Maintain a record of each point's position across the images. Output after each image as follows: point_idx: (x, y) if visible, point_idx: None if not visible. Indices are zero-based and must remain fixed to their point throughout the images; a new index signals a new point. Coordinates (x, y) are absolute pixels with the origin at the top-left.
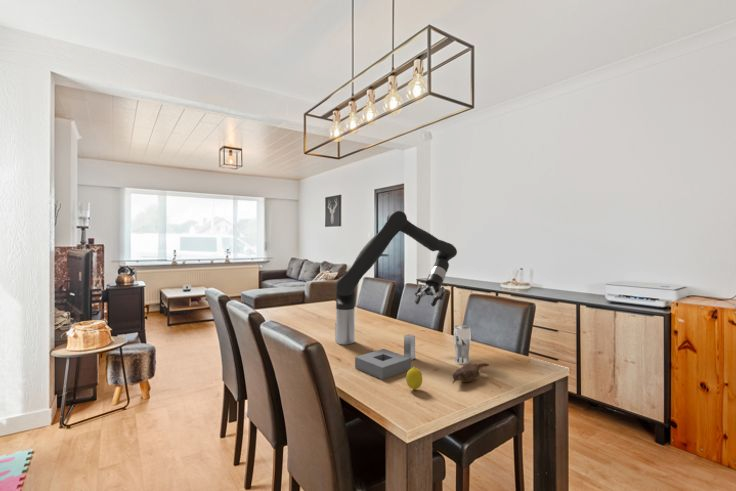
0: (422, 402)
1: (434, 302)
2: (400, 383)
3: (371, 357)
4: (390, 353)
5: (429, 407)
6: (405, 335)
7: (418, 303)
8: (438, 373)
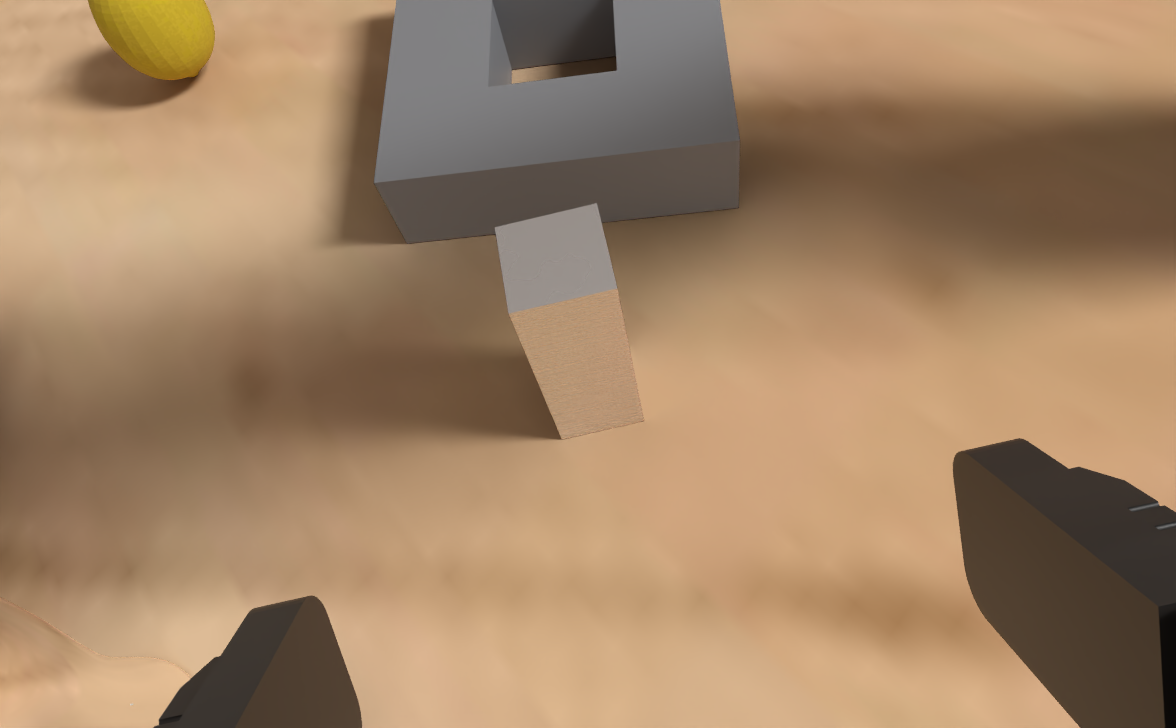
0: (91, 33)
1: (183, 696)
2: (309, 66)
3: None
4: (586, 119)
5: (42, 30)
6: (600, 228)
7: (998, 628)
8: (195, 344)
